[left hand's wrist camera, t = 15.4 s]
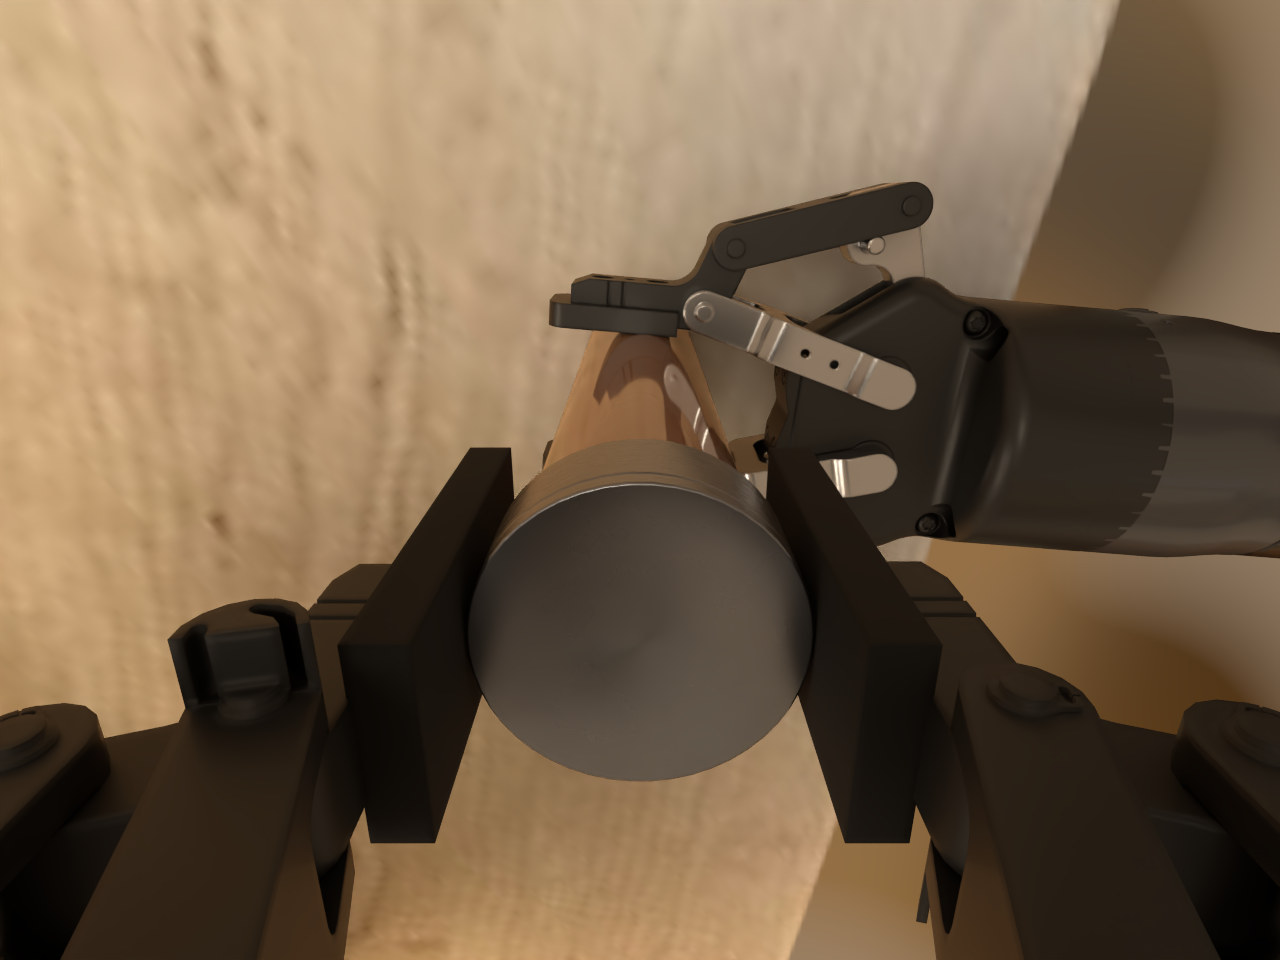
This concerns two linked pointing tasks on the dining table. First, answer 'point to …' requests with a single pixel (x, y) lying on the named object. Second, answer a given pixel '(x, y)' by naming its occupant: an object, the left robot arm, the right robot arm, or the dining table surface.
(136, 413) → the dining table surface
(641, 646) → the lid
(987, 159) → the dining table surface
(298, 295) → the dining table surface
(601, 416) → the brown capped cylinder
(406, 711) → the left robot arm
